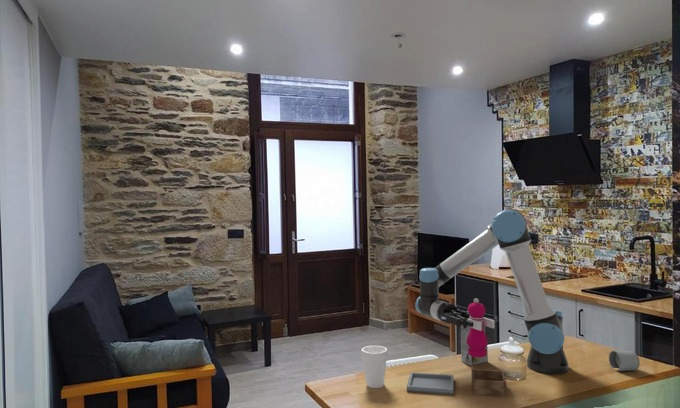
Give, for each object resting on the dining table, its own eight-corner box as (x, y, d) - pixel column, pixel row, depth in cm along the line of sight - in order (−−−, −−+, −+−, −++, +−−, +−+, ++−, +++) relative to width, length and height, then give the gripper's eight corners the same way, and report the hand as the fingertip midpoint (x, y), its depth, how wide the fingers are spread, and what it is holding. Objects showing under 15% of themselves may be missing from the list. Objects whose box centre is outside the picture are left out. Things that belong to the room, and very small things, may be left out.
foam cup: (378, 391, 166) (377, 355, 166) (357, 386, 172) (356, 350, 172) (392, 383, 173) (391, 348, 173) (371, 378, 179) (370, 344, 179)
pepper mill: (462, 352, 169) (461, 297, 169) (479, 350, 171) (478, 295, 171) (475, 358, 162) (474, 301, 162) (492, 356, 165) (491, 299, 164)
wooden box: (503, 384, 170) (503, 370, 170) (506, 397, 159) (506, 382, 159) (471, 382, 172) (471, 368, 172) (472, 394, 162) (472, 380, 162)
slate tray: (453, 379, 175) (453, 374, 175) (453, 394, 162) (453, 389, 162) (410, 376, 179) (410, 372, 179) (406, 391, 166) (406, 386, 166)
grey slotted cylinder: (641, 373, 177) (641, 352, 178) (621, 374, 177) (620, 353, 177) (623, 364, 188) (622, 344, 188) (603, 364, 187) (602, 345, 188)
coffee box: (477, 357, 199) (476, 319, 199) (488, 361, 194) (487, 323, 194) (460, 361, 195) (459, 323, 195) (471, 366, 189) (470, 326, 189)
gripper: (462, 318, 187) (507, 332, 166) (425, 324, 179) (467, 340, 158) (462, 299, 187) (506, 311, 166) (425, 304, 179) (466, 317, 158)
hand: (487, 325), depth 162 cm, fingers closed on pepper mill, 5 cm apart
